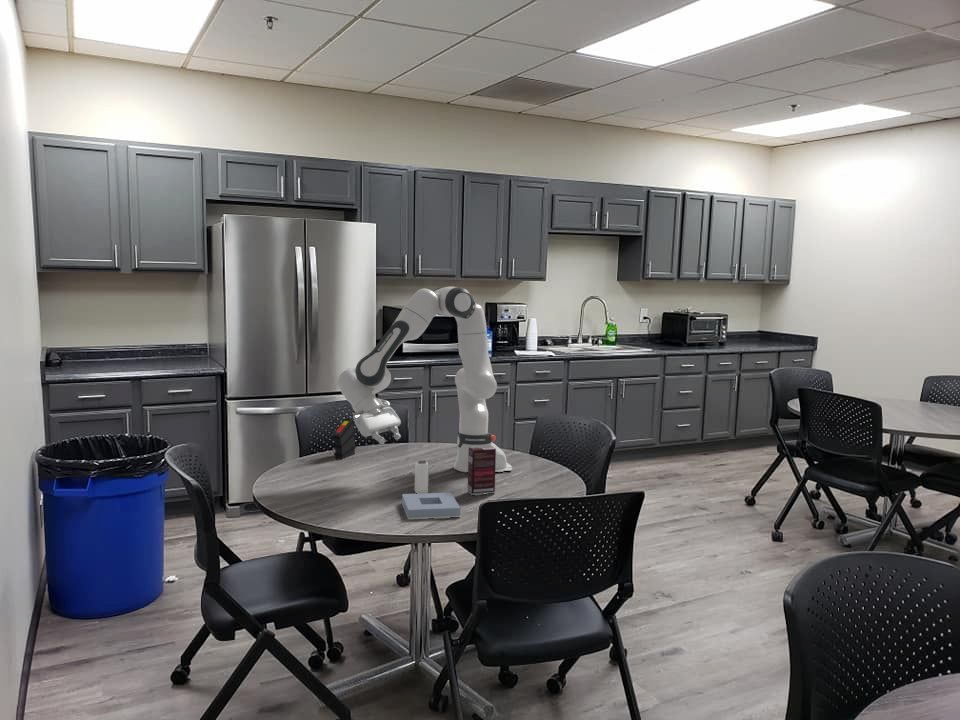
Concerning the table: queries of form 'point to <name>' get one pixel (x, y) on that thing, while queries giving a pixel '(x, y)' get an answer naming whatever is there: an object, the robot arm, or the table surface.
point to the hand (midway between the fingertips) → (391, 440)
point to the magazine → (344, 439)
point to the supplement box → (481, 470)
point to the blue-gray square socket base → (430, 505)
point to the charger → (421, 477)
